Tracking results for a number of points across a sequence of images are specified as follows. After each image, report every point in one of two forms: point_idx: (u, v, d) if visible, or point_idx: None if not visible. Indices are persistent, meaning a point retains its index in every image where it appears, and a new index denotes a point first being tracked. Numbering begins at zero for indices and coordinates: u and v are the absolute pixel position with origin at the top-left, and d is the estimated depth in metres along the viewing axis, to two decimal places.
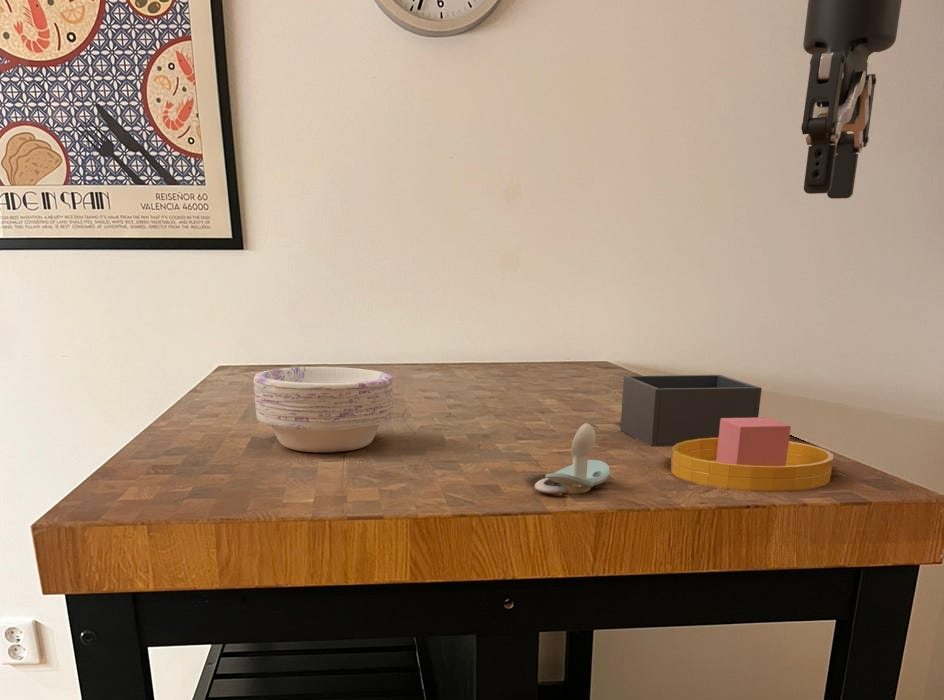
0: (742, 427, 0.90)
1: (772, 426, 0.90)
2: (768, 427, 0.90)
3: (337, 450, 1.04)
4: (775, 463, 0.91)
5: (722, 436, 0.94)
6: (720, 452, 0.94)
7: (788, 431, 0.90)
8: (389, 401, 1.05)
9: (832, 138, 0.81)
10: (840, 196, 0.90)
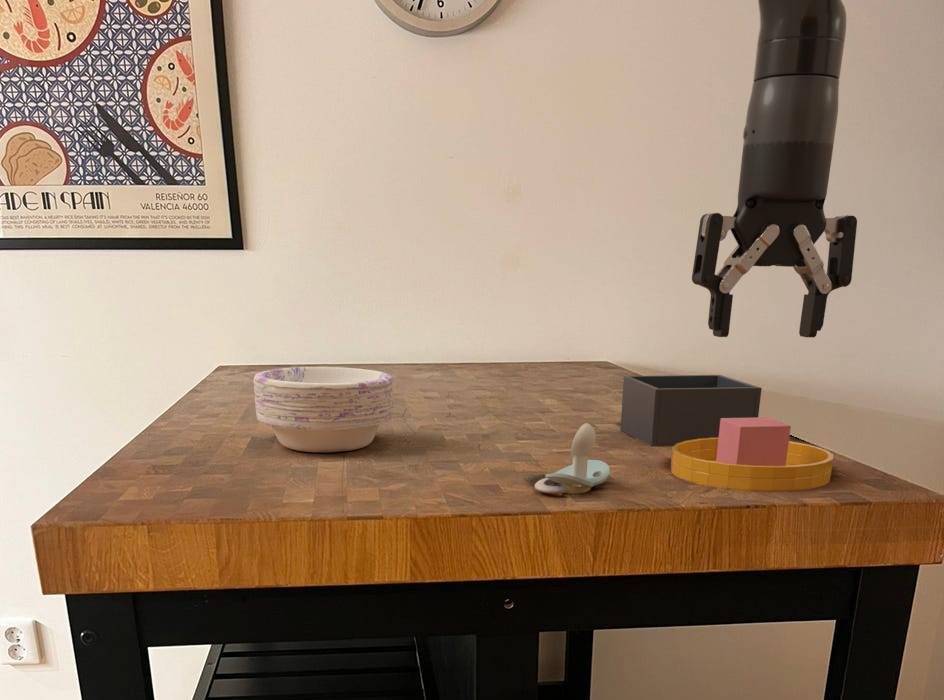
0: (742, 427, 0.90)
1: (772, 426, 0.90)
2: (768, 427, 0.90)
3: (337, 450, 1.04)
4: (775, 463, 0.91)
5: (722, 436, 0.94)
6: (720, 452, 0.94)
7: (788, 431, 0.90)
8: (389, 401, 1.05)
9: (718, 289, 0.86)
10: (804, 335, 0.90)
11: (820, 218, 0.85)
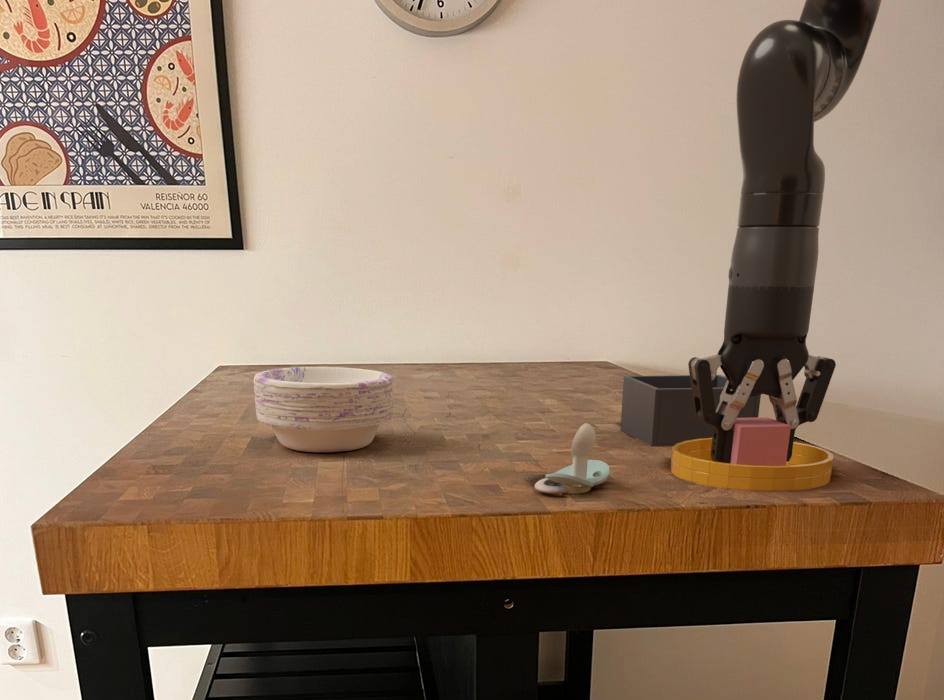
0: (742, 427, 0.90)
1: (772, 426, 0.90)
2: (768, 427, 0.90)
3: (337, 450, 1.04)
4: (775, 463, 0.91)
5: None
6: None
7: (788, 431, 0.90)
8: (389, 401, 1.05)
9: (721, 427, 0.91)
10: None
11: (804, 353, 0.89)
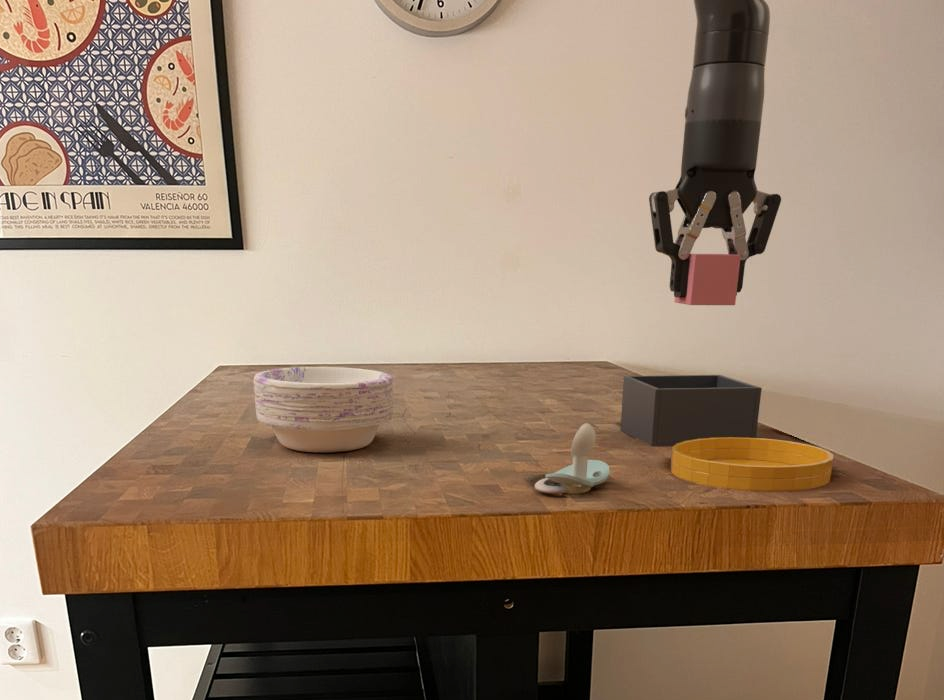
0: (697, 255, 1.00)
1: (724, 255, 1.00)
2: (720, 255, 1.00)
3: (337, 450, 1.04)
4: (726, 291, 1.01)
5: None
6: None
7: (738, 260, 1.00)
8: (389, 401, 1.05)
9: (678, 257, 1.01)
10: None
11: (752, 187, 0.99)
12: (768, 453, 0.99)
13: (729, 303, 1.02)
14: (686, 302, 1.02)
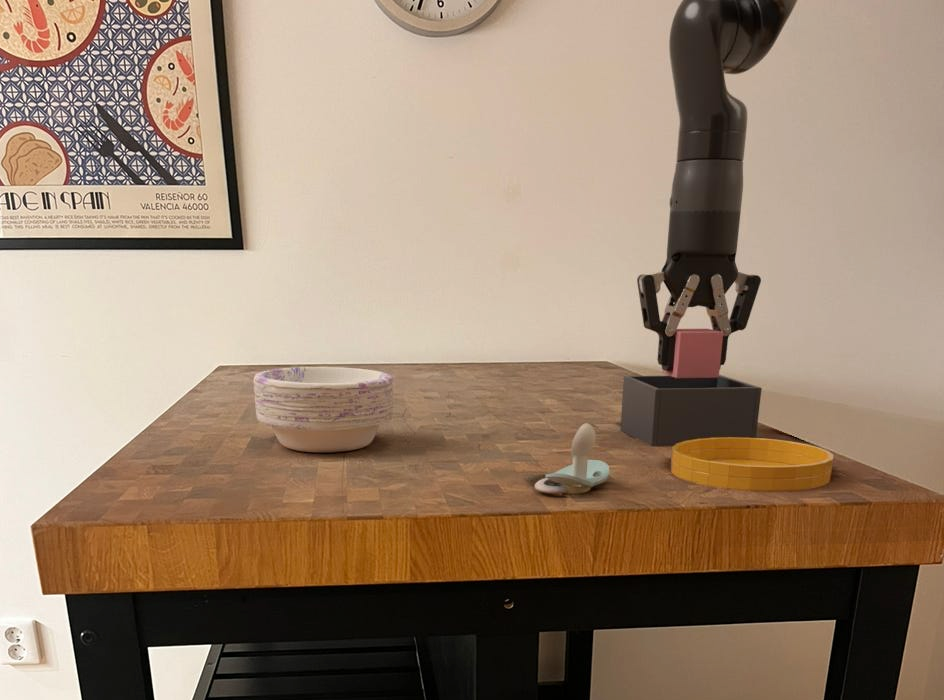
0: (682, 332, 1.06)
1: (707, 332, 1.07)
2: (704, 333, 1.07)
3: (337, 450, 1.04)
4: (710, 365, 1.08)
5: None
6: None
7: (721, 336, 1.07)
8: (389, 401, 1.05)
9: (665, 334, 1.08)
10: None
11: (733, 270, 1.06)
12: (768, 453, 0.99)
13: (713, 376, 1.09)
14: (673, 375, 1.09)
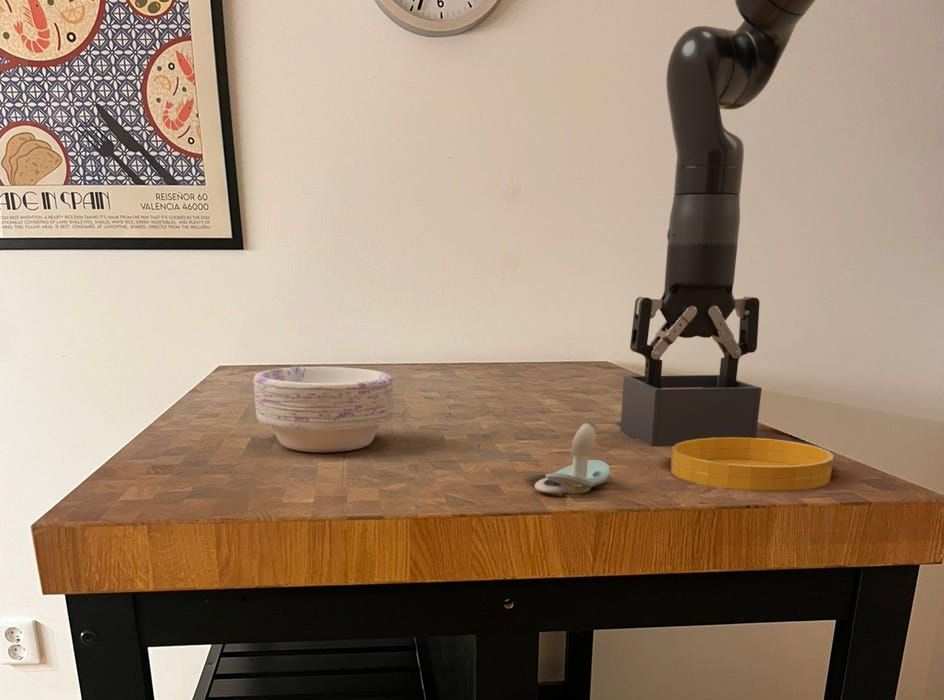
0: None
1: None
2: None
3: (337, 450, 1.04)
4: None
5: None
6: None
7: None
8: (389, 401, 1.05)
9: (651, 356, 1.08)
10: None
11: (730, 300, 1.07)
12: (768, 453, 0.99)
13: None
14: None
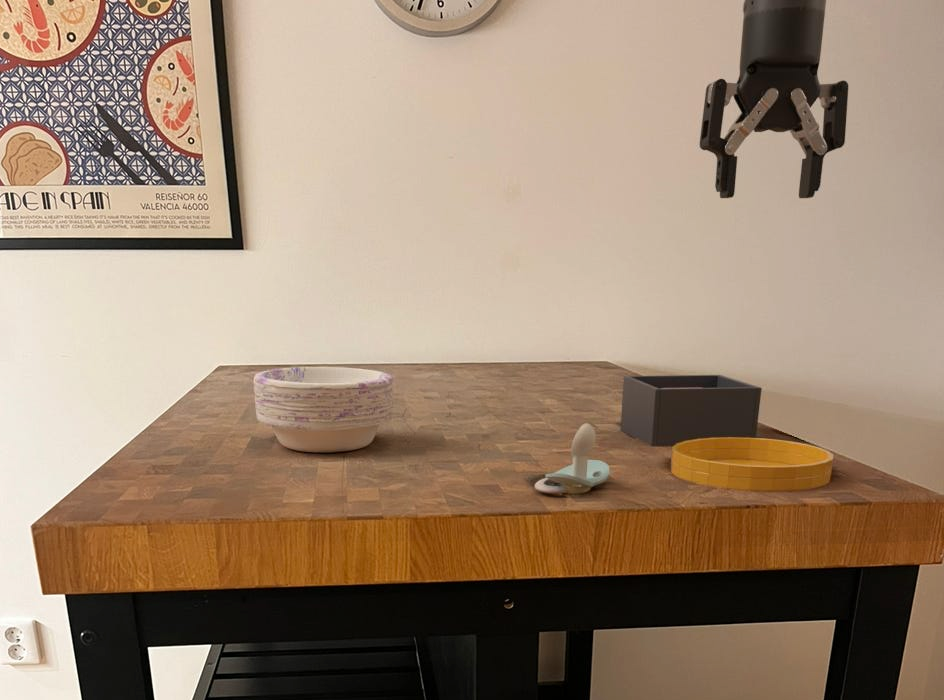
0: None
1: None
2: None
3: (337, 450, 1.04)
4: None
5: None
6: None
7: None
8: (389, 401, 1.05)
9: (724, 151, 0.95)
10: (803, 196, 0.98)
11: (815, 83, 0.94)
12: (768, 453, 0.99)
13: None
14: None
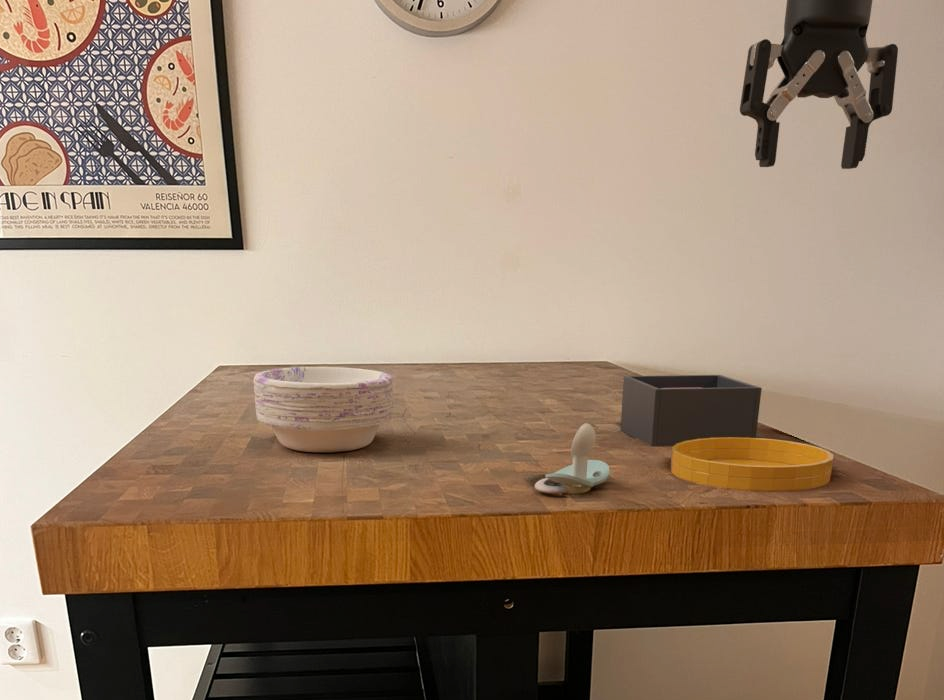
0: None
1: None
2: None
3: (337, 450, 1.04)
4: None
5: None
6: None
7: None
8: (389, 401, 1.05)
9: (766, 116, 0.91)
10: (847, 166, 0.94)
11: (863, 46, 0.89)
12: (768, 453, 0.99)
13: None
14: None
